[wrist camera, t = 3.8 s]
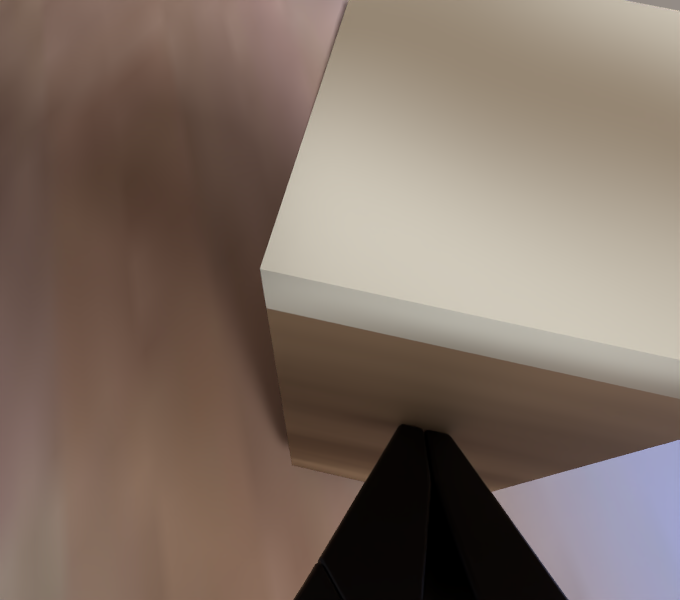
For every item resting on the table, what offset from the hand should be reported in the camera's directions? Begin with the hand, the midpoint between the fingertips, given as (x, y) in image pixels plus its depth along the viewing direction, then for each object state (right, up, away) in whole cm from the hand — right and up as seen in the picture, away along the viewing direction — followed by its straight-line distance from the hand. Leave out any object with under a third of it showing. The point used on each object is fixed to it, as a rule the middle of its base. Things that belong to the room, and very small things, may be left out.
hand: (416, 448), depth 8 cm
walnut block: (0, -1, +8) cm, 8 cm away
